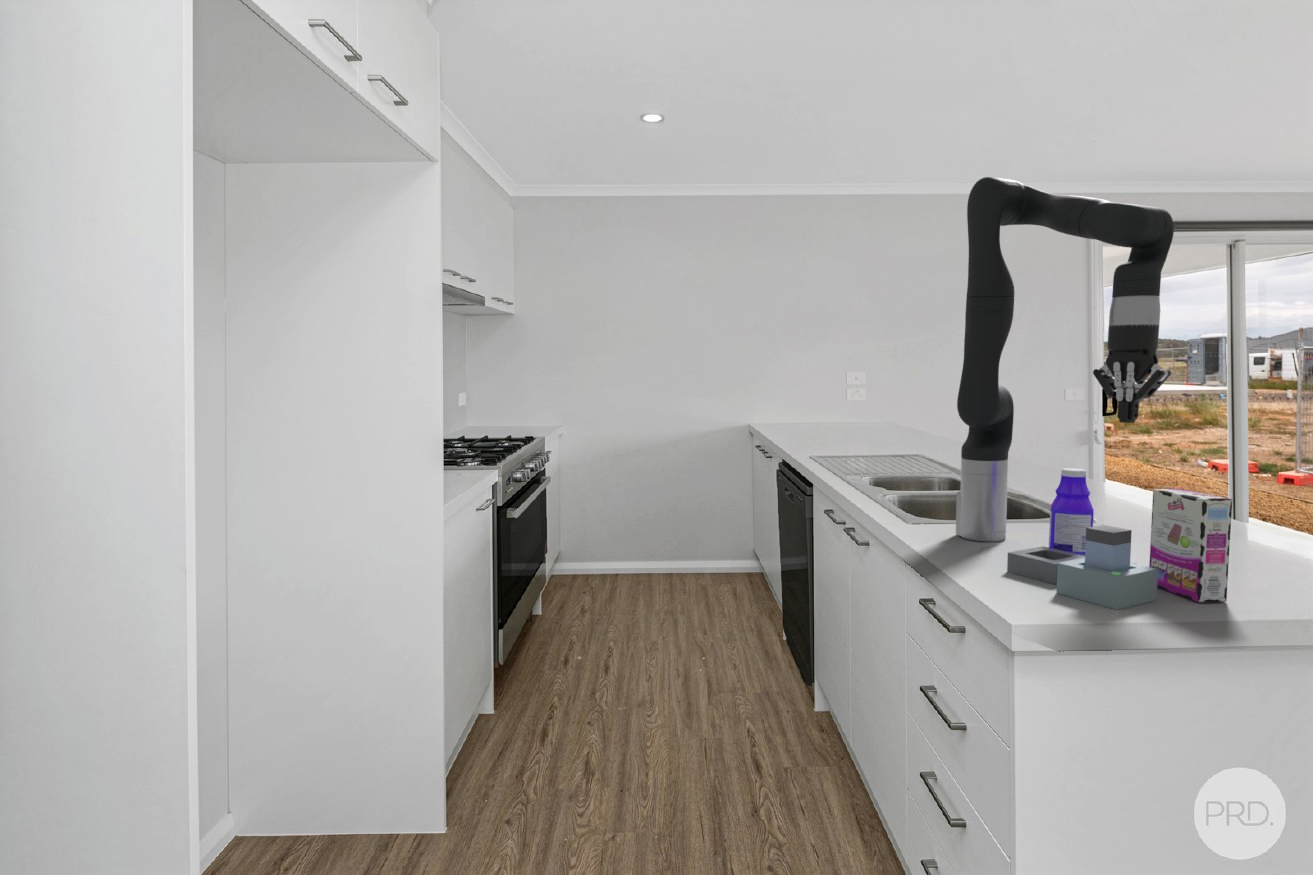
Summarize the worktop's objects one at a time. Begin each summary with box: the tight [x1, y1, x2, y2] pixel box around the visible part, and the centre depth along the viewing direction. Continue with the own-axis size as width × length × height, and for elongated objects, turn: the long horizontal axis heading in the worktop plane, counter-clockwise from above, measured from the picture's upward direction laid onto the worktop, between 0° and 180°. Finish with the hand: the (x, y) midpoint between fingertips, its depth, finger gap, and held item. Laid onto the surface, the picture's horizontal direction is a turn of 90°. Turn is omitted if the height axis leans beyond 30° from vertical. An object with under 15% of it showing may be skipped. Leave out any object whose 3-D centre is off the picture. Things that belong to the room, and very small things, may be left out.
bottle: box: [1048, 467, 1095, 556], centre depth 145 cm, size 7×6×17 cm
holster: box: [1006, 545, 1085, 585], centre depth 135 cm, size 10×10×4 cm
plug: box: [1085, 524, 1132, 572], centre depth 121 cm, size 4×4×10 cm
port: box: [1056, 558, 1158, 611], centre depth 121 cm, size 10×10×5 cm
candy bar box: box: [1148, 488, 1234, 604], centre depth 122 cm, size 11×5×16 cm, turn 5°
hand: (1127, 422), depth 134 cm, fingers closed
